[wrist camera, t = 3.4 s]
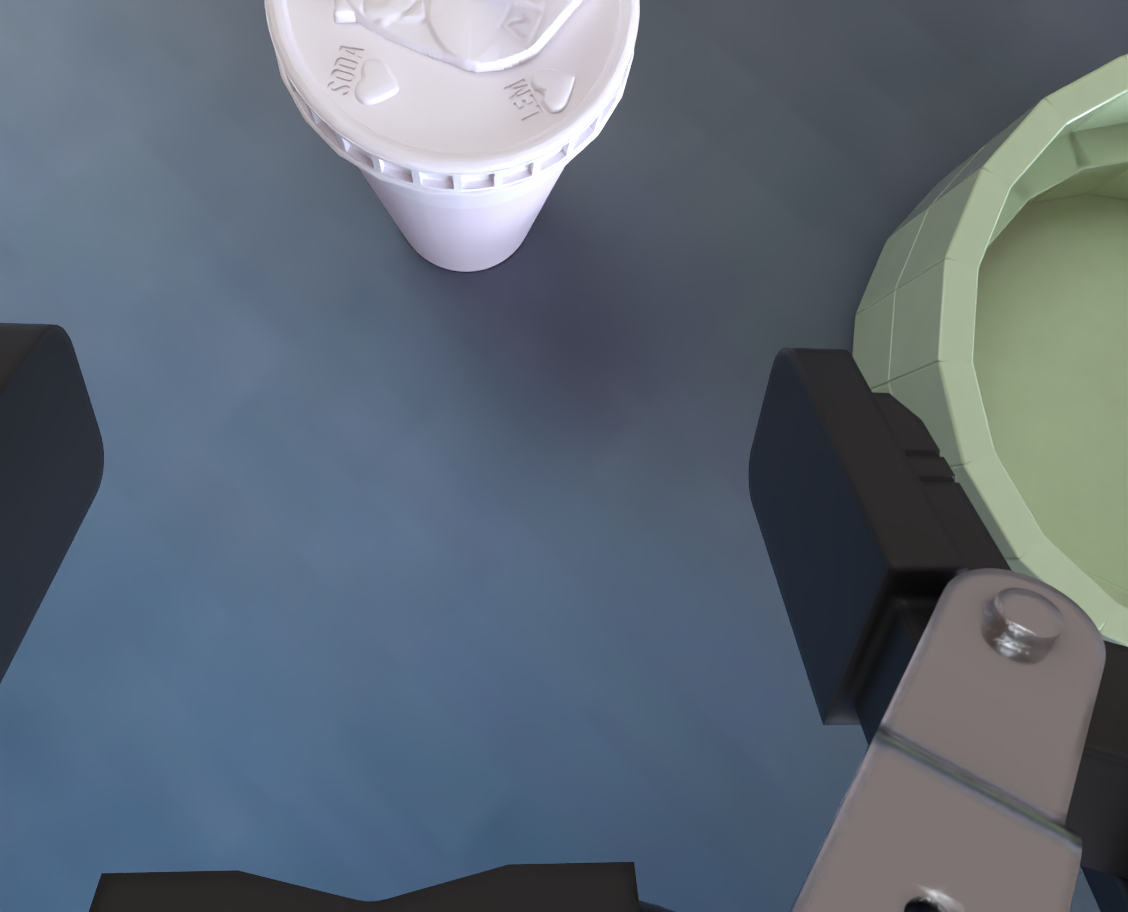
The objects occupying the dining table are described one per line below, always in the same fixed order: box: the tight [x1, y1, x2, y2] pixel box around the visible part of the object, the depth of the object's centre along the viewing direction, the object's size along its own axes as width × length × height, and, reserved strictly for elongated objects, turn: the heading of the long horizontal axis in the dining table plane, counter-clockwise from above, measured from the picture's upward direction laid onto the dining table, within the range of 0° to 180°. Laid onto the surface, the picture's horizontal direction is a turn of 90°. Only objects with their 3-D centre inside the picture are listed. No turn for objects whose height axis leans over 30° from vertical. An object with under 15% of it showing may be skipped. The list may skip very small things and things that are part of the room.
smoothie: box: [265, 0, 640, 272], centre depth 18 cm, size 6×6×14 cm
